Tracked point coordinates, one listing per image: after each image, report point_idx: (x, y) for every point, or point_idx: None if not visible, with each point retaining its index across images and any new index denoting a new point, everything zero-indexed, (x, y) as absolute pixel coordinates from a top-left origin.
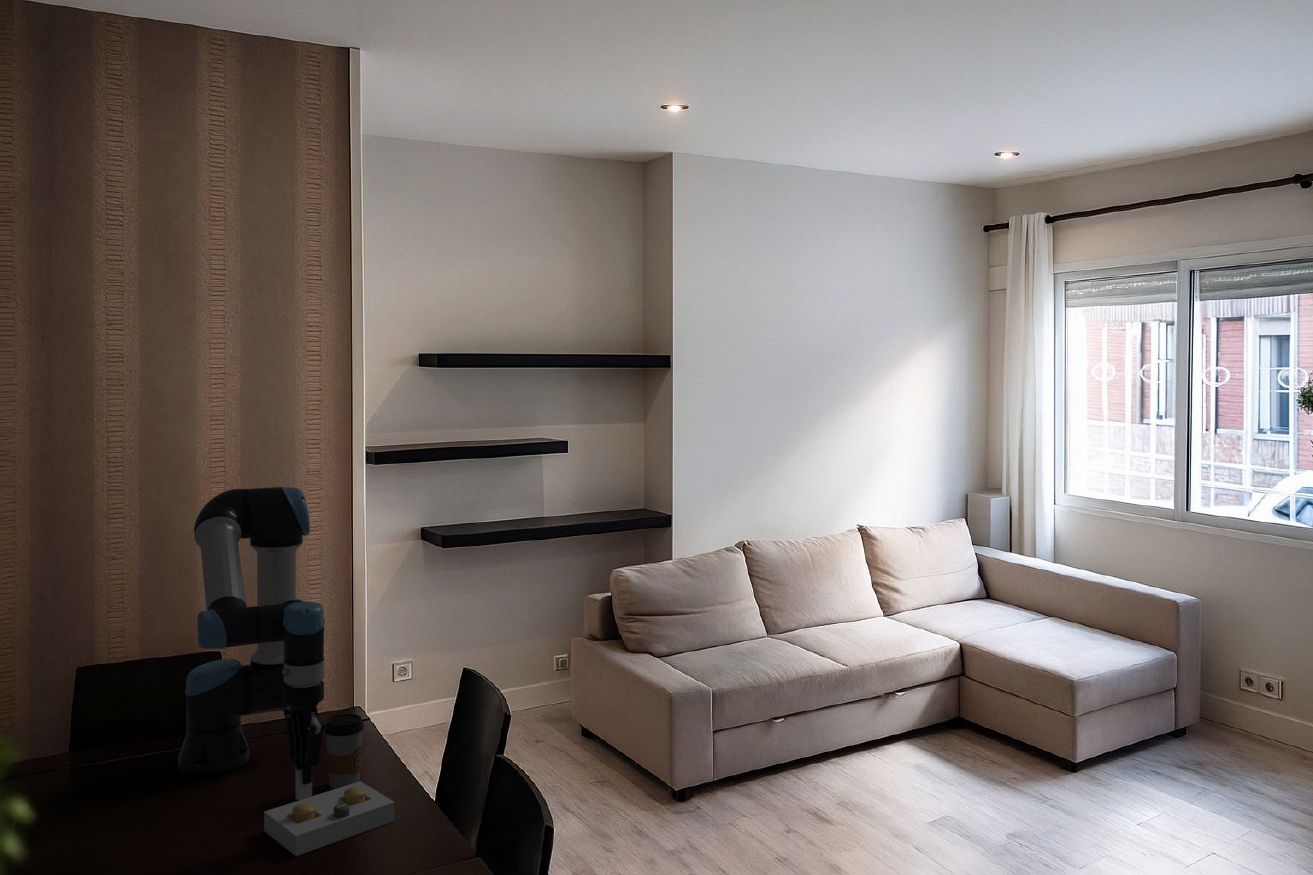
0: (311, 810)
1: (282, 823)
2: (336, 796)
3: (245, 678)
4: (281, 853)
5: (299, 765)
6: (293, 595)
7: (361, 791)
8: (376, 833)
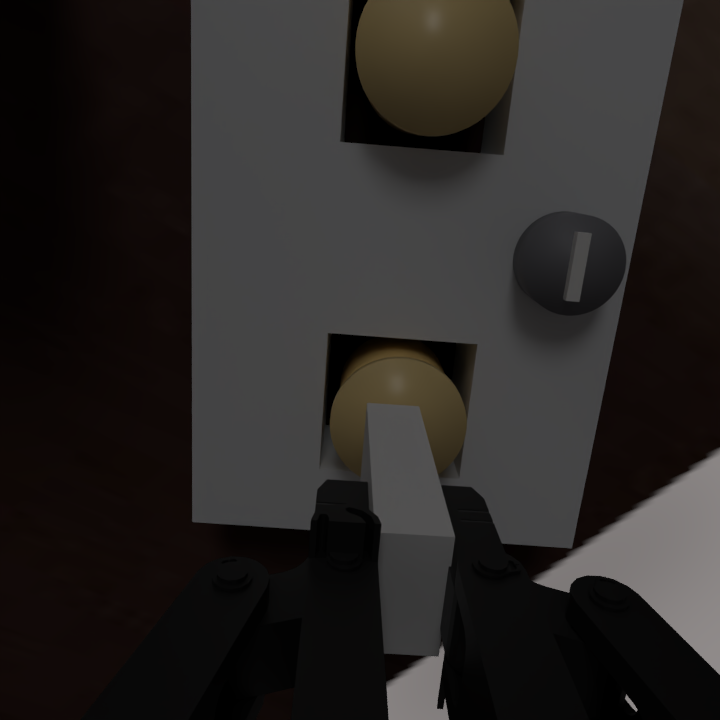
0: (462, 414)
1: None
2: (305, 132)
3: None
4: None
5: (442, 677)
6: None
7: (473, 12)
8: (675, 111)
